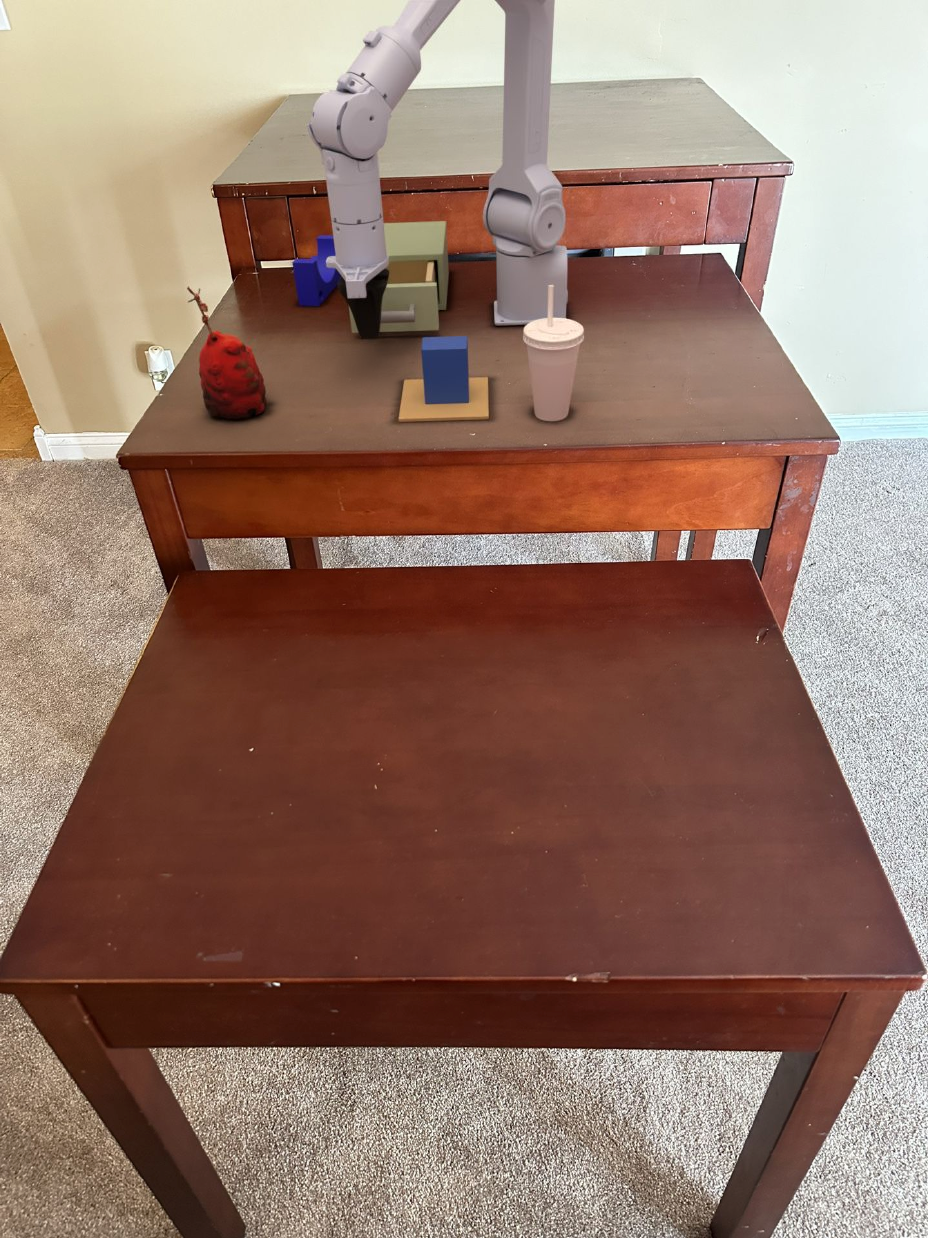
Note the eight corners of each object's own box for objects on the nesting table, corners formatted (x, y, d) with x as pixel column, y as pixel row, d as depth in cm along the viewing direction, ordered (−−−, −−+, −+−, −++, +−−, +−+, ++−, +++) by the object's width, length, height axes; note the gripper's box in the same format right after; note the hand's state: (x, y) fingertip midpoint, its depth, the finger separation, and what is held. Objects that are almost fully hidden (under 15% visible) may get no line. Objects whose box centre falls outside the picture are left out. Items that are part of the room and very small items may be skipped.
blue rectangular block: (469, 389, 104) (467, 335, 100) (469, 403, 101) (467, 348, 97) (426, 391, 104) (422, 337, 100) (425, 404, 102) (421, 349, 97)
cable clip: (316, 275, 137) (310, 234, 133) (344, 276, 136) (339, 235, 132) (289, 304, 128) (282, 261, 124) (319, 305, 127) (312, 262, 123)
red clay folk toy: (281, 410, 103) (257, 278, 93) (228, 431, 99) (197, 296, 90) (245, 390, 107) (218, 262, 98) (193, 410, 104) (160, 279, 94)
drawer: (437, 342, 114) (435, 297, 110) (348, 345, 114) (342, 300, 110) (442, 292, 127) (439, 250, 123) (362, 295, 127) (357, 253, 124)
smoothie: (552, 394, 103) (556, 271, 94) (592, 414, 99) (599, 287, 90) (510, 412, 100) (510, 286, 91) (549, 432, 96) (553, 303, 87)
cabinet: (445, 309, 124) (442, 253, 120) (355, 312, 125) (349, 256, 120) (448, 273, 136) (446, 220, 131) (366, 276, 136) (360, 223, 131)
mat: (488, 379, 107) (488, 376, 107) (488, 419, 99) (488, 416, 99) (404, 382, 107) (404, 379, 107) (398, 421, 99) (398, 418, 99)
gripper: (329, 199, 104) (343, 314, 113) (311, 238, 93) (329, 363, 102) (389, 197, 104) (399, 312, 113) (379, 236, 93) (390, 361, 101)
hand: (370, 336), depth 107 cm, fingers closed
